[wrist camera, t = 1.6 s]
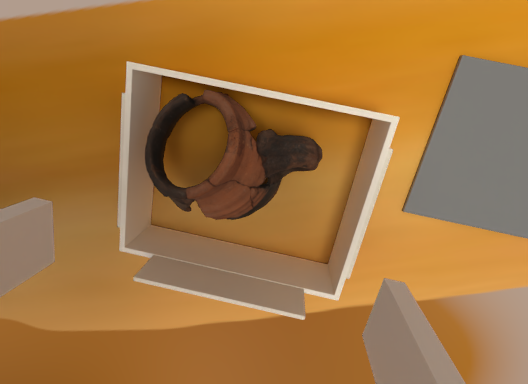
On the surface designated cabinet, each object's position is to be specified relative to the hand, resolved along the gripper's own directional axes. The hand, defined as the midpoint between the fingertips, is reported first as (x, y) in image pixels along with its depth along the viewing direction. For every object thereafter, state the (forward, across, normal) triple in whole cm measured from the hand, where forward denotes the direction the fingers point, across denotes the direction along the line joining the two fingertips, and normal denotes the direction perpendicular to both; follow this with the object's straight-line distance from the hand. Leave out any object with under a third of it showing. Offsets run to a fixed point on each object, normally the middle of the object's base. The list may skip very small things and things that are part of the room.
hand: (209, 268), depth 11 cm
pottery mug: (+15, 0, +1) cm, 15 cm away
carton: (+14, 0, 0) cm, 14 cm away
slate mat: (+14, +18, +6) cm, 24 cm away
